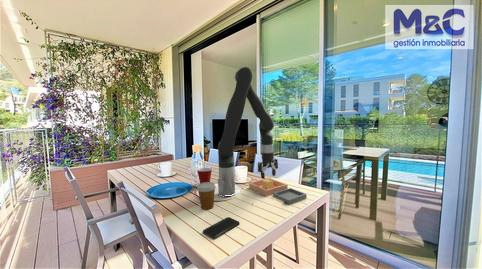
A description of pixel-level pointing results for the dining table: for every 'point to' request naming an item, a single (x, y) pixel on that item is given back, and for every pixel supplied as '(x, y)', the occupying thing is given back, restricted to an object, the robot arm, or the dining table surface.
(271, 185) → the ochre cube
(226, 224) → the phone
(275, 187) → the terracotta dish
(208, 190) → the disposable coffee cup
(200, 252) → the dining table surface
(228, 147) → the robot arm
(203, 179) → the plastic cup
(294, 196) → the charcoal tray
